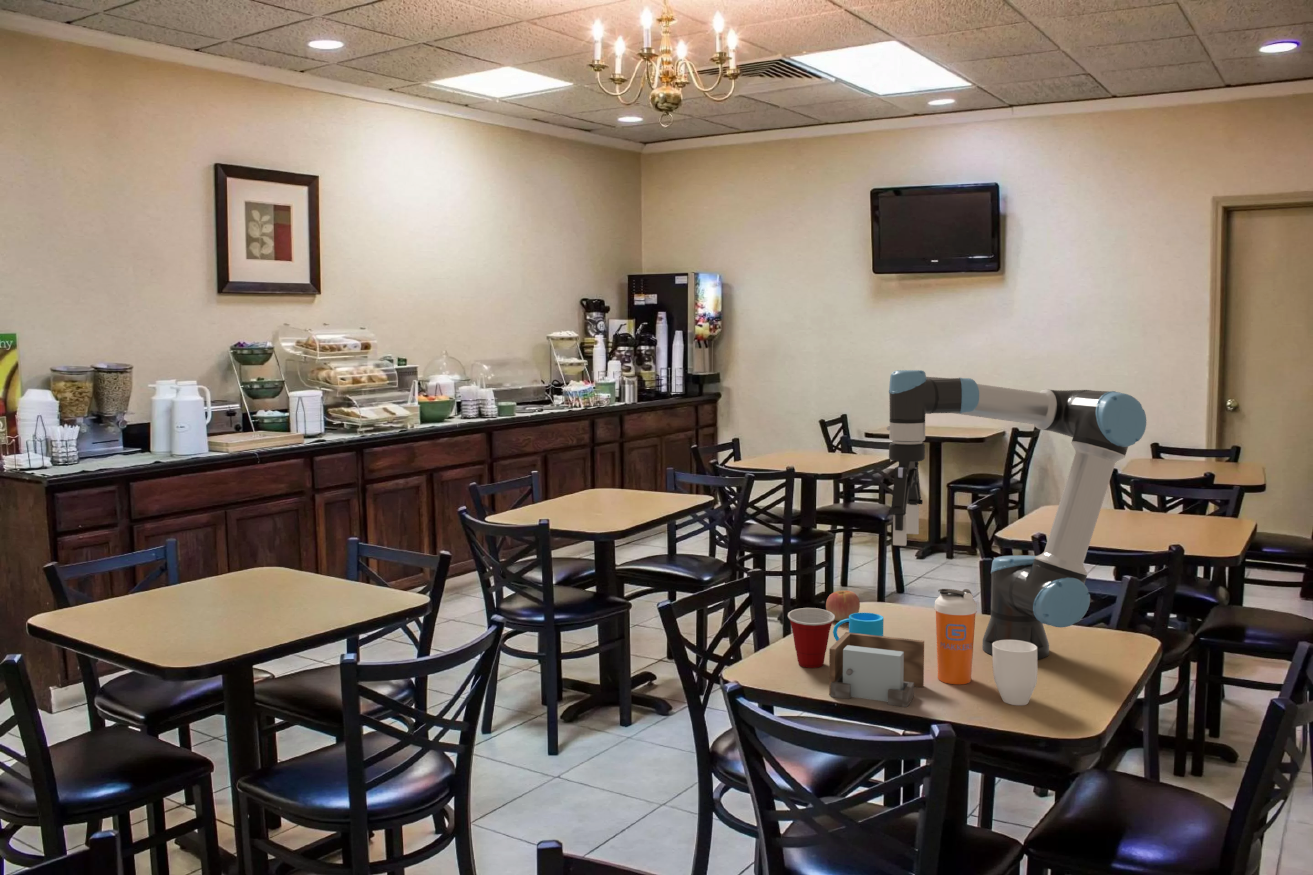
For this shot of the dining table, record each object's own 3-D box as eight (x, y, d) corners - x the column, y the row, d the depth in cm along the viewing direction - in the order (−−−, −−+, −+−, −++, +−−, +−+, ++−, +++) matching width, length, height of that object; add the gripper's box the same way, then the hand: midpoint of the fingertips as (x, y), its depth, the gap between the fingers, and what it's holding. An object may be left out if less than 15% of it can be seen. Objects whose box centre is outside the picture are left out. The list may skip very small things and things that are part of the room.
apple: (859, 625, 277) (860, 595, 276) (825, 624, 278) (825, 594, 278) (859, 616, 285) (859, 587, 285) (826, 615, 287) (826, 586, 286)
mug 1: (883, 646, 258) (884, 613, 258) (882, 655, 251) (882, 622, 250) (834, 643, 261) (834, 610, 261) (831, 652, 253) (831, 619, 253)
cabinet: (923, 685, 229) (924, 640, 228) (910, 707, 216) (910, 659, 215) (845, 675, 236) (845, 632, 235) (827, 696, 223) (828, 649, 222)
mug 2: (1042, 708, 214) (1042, 651, 213) (997, 709, 215) (997, 651, 214) (1028, 689, 226) (1027, 634, 224) (985, 689, 226) (985, 635, 225)
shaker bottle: (929, 672, 237) (930, 585, 236) (969, 672, 237) (971, 585, 235) (938, 686, 229) (940, 595, 227) (980, 686, 228) (982, 595, 226)
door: (903, 698, 222) (903, 651, 221) (898, 704, 218) (899, 657, 217) (846, 690, 227) (847, 645, 226) (841, 697, 223) (841, 650, 222)
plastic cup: (790, 672, 239) (790, 620, 238) (784, 657, 250) (784, 607, 249) (838, 671, 239) (838, 619, 238) (830, 657, 250) (831, 607, 249)
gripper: (901, 436, 240) (900, 528, 242) (876, 447, 218) (875, 548, 220) (934, 437, 237) (933, 530, 239) (913, 448, 214) (912, 551, 216)
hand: (906, 539), depth 229 cm, fingers open, 13 cm apart
